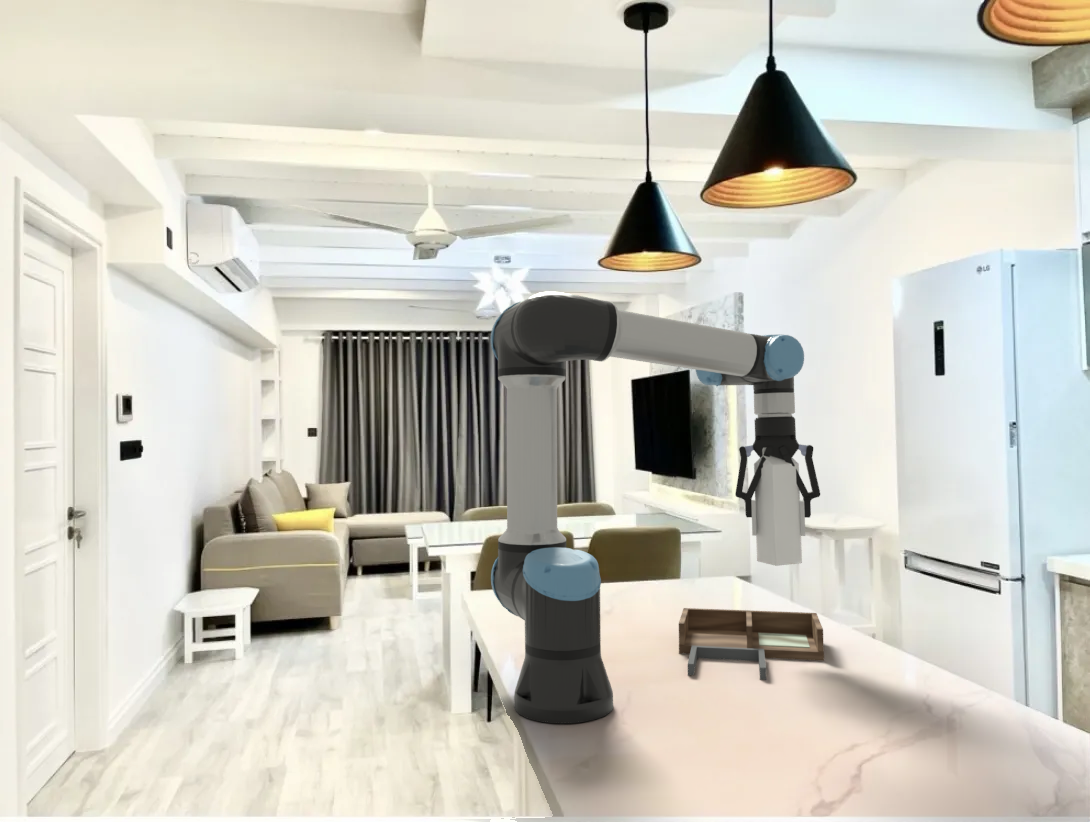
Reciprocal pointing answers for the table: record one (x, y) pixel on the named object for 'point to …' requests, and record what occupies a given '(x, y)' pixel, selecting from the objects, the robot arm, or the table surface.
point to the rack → (753, 632)
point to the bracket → (727, 656)
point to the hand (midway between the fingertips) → (778, 534)
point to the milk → (778, 513)
